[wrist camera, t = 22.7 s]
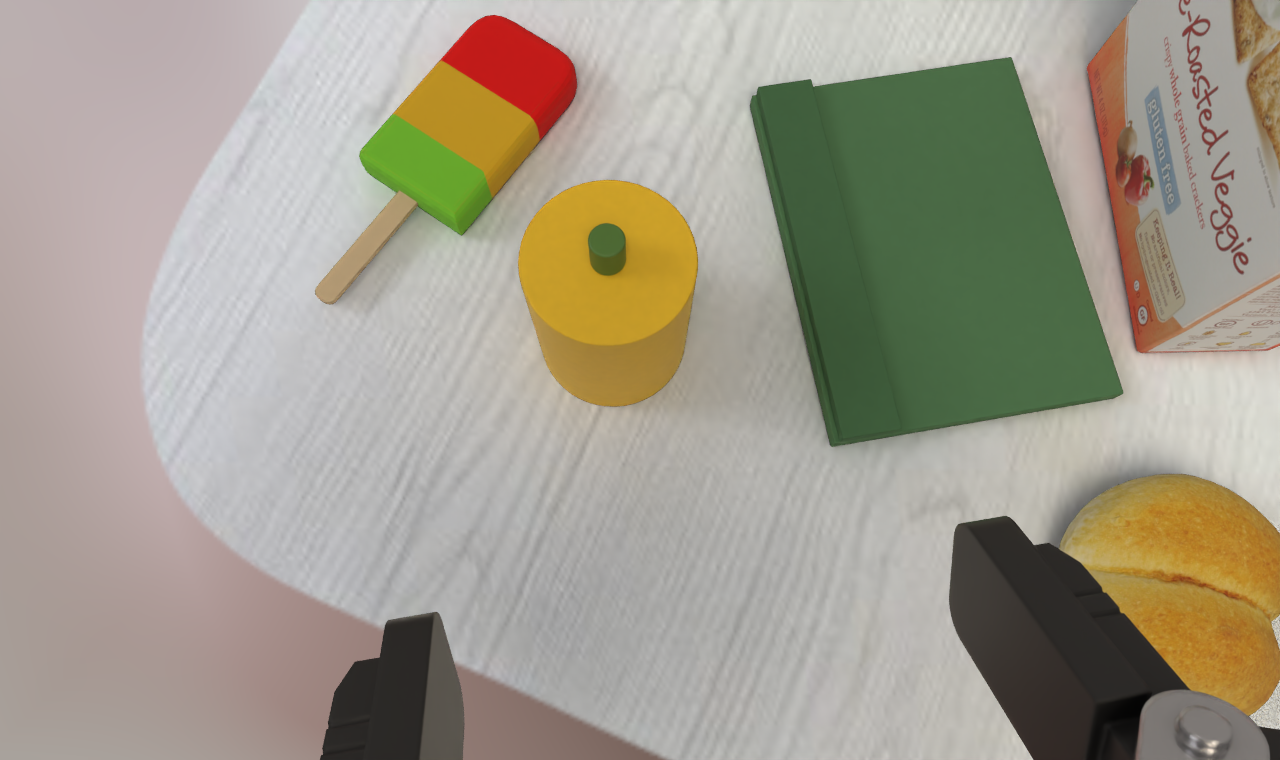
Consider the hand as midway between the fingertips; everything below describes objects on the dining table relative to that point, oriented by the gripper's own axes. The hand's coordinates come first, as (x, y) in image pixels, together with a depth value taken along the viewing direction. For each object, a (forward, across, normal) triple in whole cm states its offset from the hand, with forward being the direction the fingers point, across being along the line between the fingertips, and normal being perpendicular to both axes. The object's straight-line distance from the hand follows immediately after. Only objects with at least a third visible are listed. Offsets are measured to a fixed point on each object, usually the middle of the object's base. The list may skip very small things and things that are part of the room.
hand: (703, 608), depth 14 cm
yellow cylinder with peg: (+24, 0, +7) cm, 25 cm away
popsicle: (+30, +6, +1) cm, 30 cm away
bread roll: (+14, -19, +17) cm, 29 cm away
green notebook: (+25, -14, +5) cm, 29 cm away
